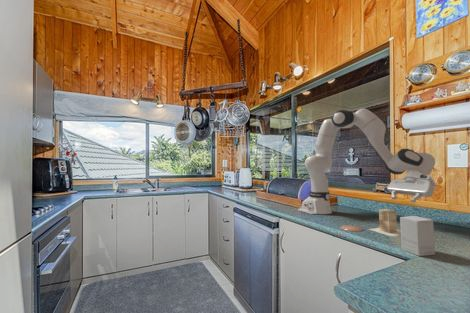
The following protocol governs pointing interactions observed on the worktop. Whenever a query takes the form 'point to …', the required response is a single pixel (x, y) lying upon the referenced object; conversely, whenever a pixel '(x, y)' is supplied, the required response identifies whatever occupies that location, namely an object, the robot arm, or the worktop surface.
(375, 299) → the worktop surface
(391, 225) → the maple block
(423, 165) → the robot arm
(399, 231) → the card
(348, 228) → the coaster
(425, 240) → the supplement box
